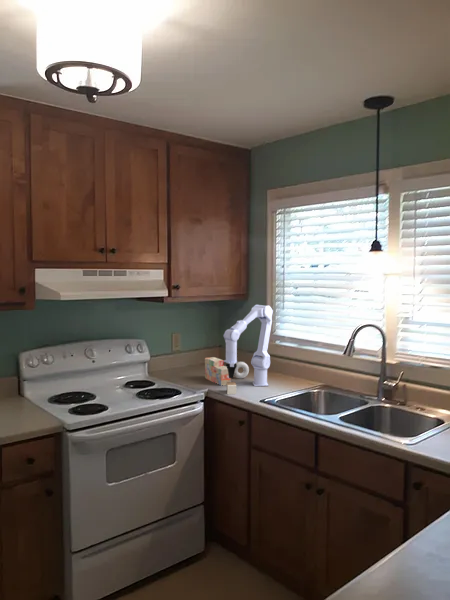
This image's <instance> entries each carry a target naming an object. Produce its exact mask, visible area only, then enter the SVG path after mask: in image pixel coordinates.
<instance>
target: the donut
mask: <svg viewBox="0 0 450 600" xmlns="http://www.w3.org/2000/svg"><path fill="white" fill-rule="evenodd" d="M235 364H237V367H236V369H235V372H234V377H235V378H237V379H240V380H241V379H244V378H246V377H247V376H249V375H248V374H249V371H250V367H249V365H248V364H247V363H246V362H245V361H237V362H236V363H235ZM239 369H242V372H239Z"/></svg>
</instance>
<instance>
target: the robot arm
mask: <svg viewBox="0 0 450 600" xmlns="http://www.w3.org/2000/svg"><path fill="white" fill-rule="evenodd" d="M273 312H274V310H273V309H272V307H271V306H270V305H262V304H255V305H253V306H252V307H251V310H250V311H249V312H248V313H247V315H246V316H244V318H243V319H239V320H237V321H236V323H235V324H233V326H230V328H228V329H226V330H225V331H224V333H223V338H224V341H225V359H224V363H225V366H226V367H227V369H228V374H229V378H231V379H234V377H235V376H234V372H235V369H236V367H237V364H236V363H237V362H238V357H237V356H238V354H237V353H238V350H237V349H238V340H239V338H240V336H241V334H242V333H244V332H245V330H246V329H247V328H248V327H247V326H248V325H249V324H250V323H252V321H254V320H255V319H256V318H258V320H259V321H260V323H261V326H260V332H259V339H258V344H257V349H256V351H255V352H254V353H253V356H252V358H251V361H250V363H251V365H252V368H253V380H252V385H253V387H269V384H268V370H269V368H270V366H271V356H270V354H269V353H268V350H269V349H268V348H269V342H270V335H271V331H272V330H271V329H272V325H273V324H272V323H273Z"/></svg>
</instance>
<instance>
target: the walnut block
mask: <svg viewBox="0 0 450 600" xmlns="http://www.w3.org/2000/svg"><path fill="white" fill-rule="evenodd" d="M226 394H227V395H237V383H236V381H231V382H227V385H226Z"/></svg>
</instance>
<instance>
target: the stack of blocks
mask: <svg viewBox="0 0 450 600" xmlns="http://www.w3.org/2000/svg"><path fill="white" fill-rule="evenodd" d="M224 360H225V359H224ZM224 360H223V359H221V358H218V357H215V356H212V357H205V358H204V378H205V379H206V380H207V381H210V382H213V383H214V382H215V383H214V384H216V383H217V385H218V384H219V386H222V385H223V386H227V382H232V381H231V380H232V378H229V374H228V369H227V367H226V365H224V363H225V362H224Z"/></svg>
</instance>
